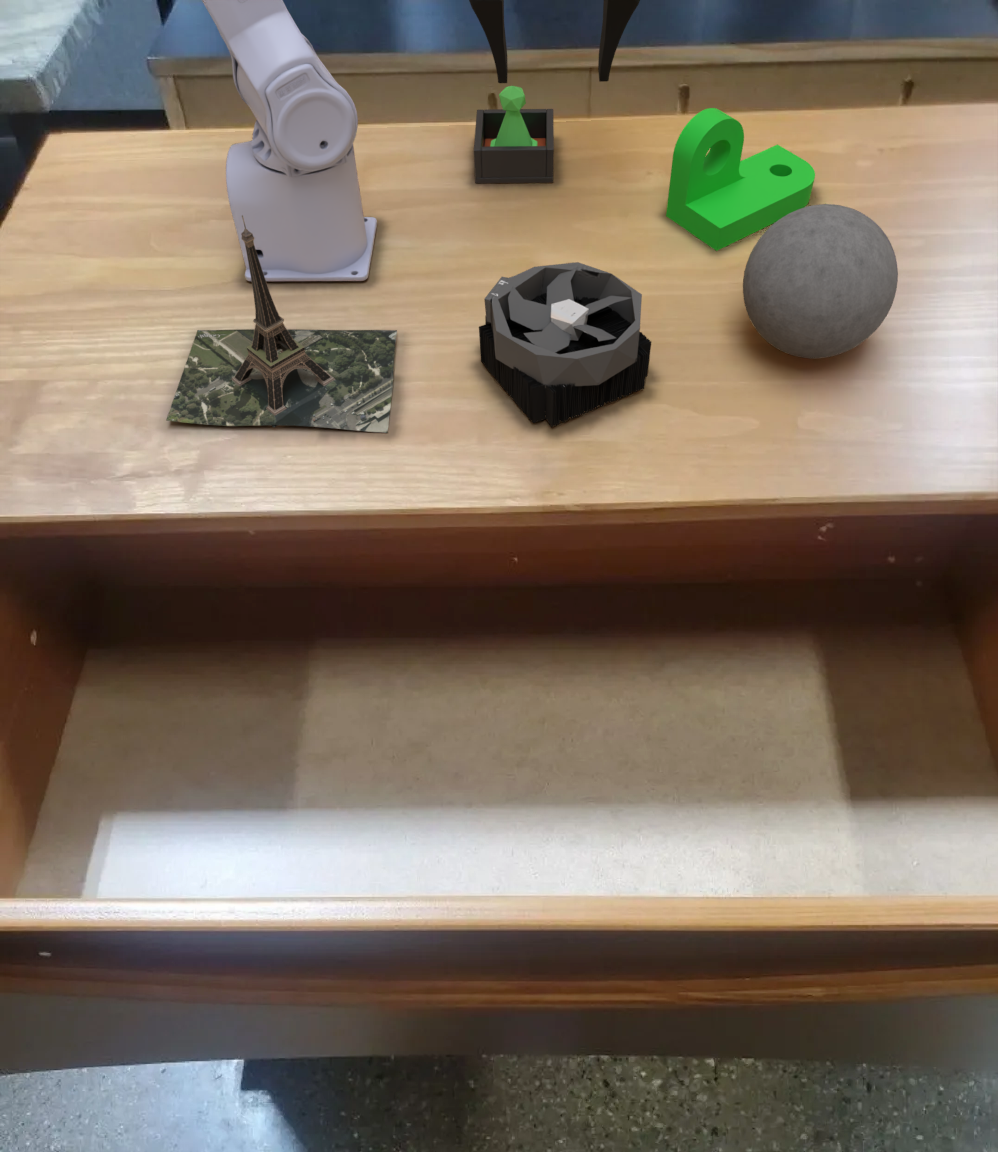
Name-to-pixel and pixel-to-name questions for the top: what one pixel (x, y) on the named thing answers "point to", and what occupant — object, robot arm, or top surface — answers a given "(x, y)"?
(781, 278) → the decorative ball
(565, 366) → the cpu cooler
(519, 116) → the game piece
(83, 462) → the top surface
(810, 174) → the mechanical part
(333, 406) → the eiffel tower figurine
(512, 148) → the pad holder
